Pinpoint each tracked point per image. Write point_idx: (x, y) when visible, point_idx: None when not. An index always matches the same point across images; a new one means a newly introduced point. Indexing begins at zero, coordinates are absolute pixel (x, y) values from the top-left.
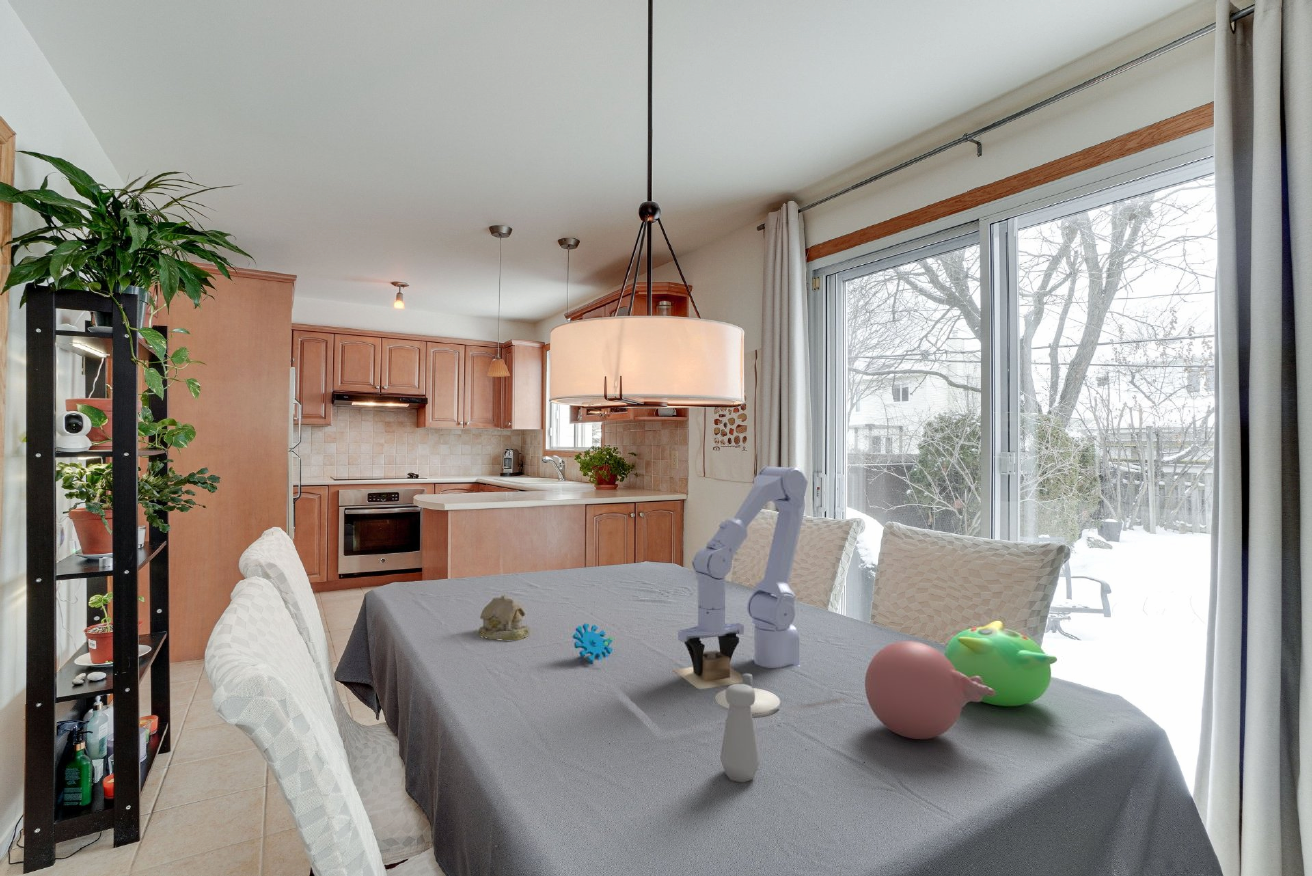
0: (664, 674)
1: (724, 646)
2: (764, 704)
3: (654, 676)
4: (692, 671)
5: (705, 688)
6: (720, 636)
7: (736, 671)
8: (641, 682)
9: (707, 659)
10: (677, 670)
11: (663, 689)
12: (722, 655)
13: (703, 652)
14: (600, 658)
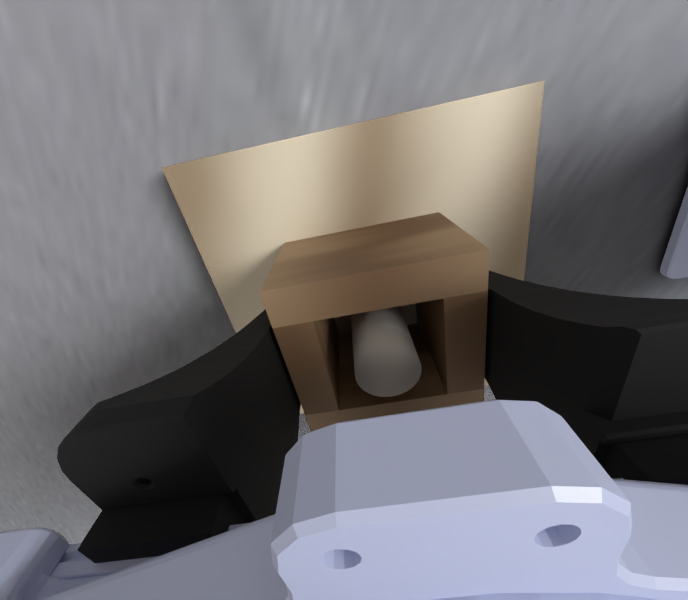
0: (124, 146)
1: (523, 395)
2: None
3: (65, 169)
4: (285, 223)
5: (300, 413)
6: (589, 395)
7: (523, 272)
8: (11, 246)
9: (333, 413)
10: (193, 184)
11: (138, 341)
12: (463, 369)
13: (352, 286)
14: None
